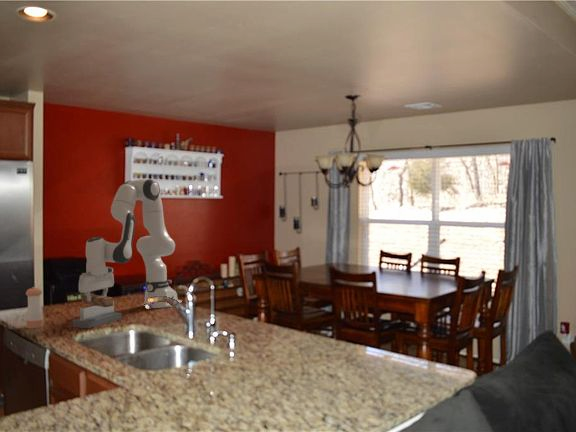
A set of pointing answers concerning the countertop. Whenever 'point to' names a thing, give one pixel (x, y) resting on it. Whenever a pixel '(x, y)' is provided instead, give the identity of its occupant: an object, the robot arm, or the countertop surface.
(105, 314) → the ridge stand
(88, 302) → the walnut rod
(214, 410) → the countertop surface
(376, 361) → the countertop surface
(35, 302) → the pepper shaker
